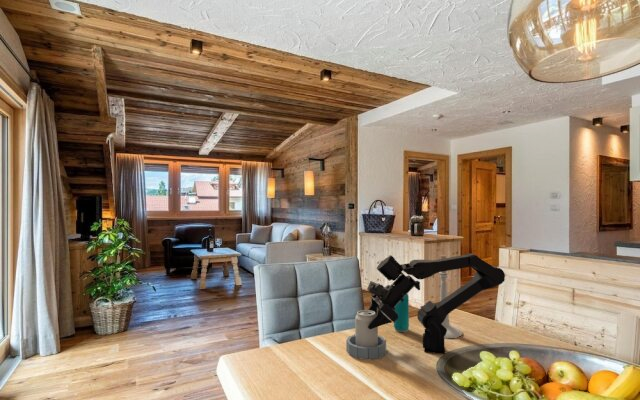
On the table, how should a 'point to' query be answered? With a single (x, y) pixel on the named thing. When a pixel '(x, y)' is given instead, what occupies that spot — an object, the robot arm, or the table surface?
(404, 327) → the beverage can
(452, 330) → the candlestick
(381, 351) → the bowl
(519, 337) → the table surface
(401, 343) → the table surface
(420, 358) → the table surface
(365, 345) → the can
